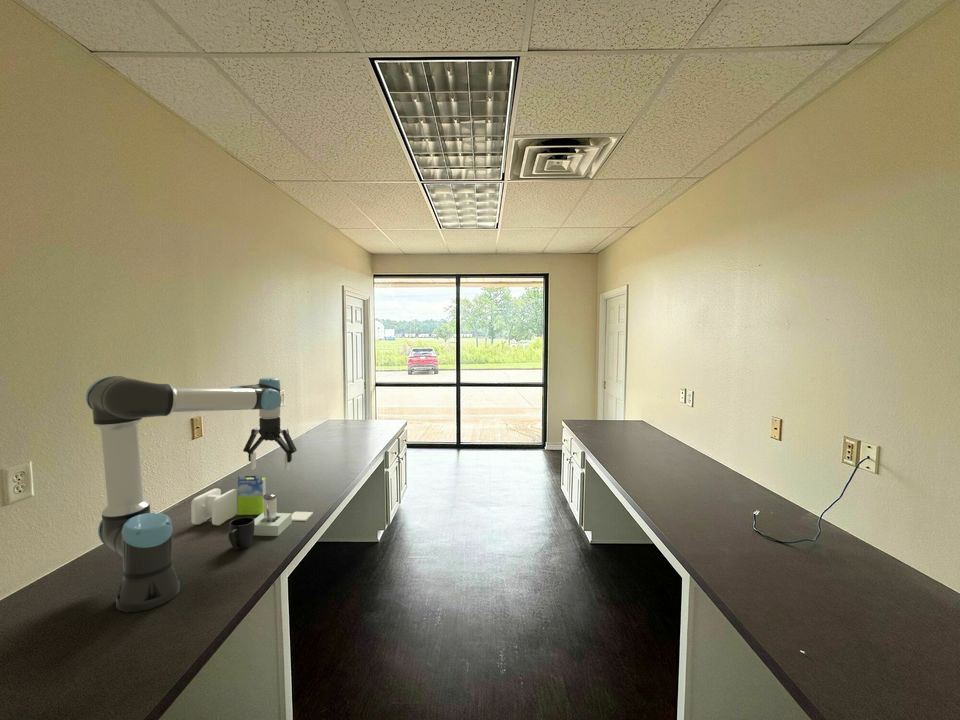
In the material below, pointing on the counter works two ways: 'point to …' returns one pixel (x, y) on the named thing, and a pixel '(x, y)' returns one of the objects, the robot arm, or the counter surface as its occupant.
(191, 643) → the counter surface
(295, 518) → the coaster
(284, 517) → the housing
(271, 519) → the brushed metal cylinder
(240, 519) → the mug
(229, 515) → the cable organizer
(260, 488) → the box
